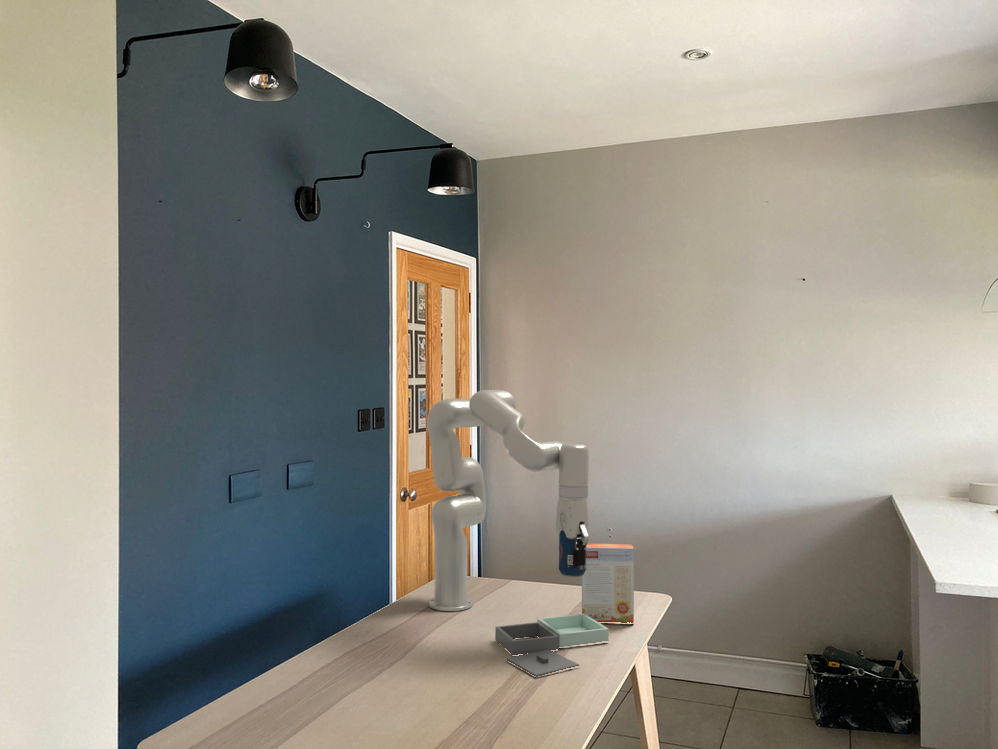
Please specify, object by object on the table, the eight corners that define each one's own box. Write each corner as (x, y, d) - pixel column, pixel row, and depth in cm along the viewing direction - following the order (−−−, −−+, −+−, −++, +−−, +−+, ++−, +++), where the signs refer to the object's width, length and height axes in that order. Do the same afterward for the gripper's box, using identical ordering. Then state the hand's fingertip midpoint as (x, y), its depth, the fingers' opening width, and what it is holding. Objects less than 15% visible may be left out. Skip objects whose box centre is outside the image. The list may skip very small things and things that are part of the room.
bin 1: (495, 640, 199) (495, 626, 199) (539, 635, 203) (539, 621, 203) (513, 656, 188) (513, 641, 188) (558, 651, 192) (559, 636, 192)
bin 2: (537, 632, 206) (537, 618, 206) (583, 627, 211) (584, 613, 211) (559, 649, 193) (559, 634, 193) (608, 643, 198) (608, 628, 198)
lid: (506, 661, 184) (506, 653, 184) (547, 652, 191) (547, 644, 191) (536, 678, 174) (536, 670, 174) (578, 668, 181) (579, 660, 181)
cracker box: (632, 619, 218) (633, 543, 218) (633, 626, 212) (634, 548, 212) (581, 617, 219) (582, 541, 219) (581, 624, 213) (582, 546, 213)
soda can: (560, 570, 206) (560, 524, 206) (586, 571, 205) (587, 525, 205) (557, 576, 199) (558, 529, 199) (584, 578, 198) (585, 530, 198)
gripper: (546, 488, 209) (545, 555, 209) (575, 498, 193) (574, 571, 193) (571, 487, 211) (570, 553, 211) (602, 496, 195) (601, 568, 195)
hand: (572, 561), depth 202 cm, fingers closed on soda can, 6 cm apart
